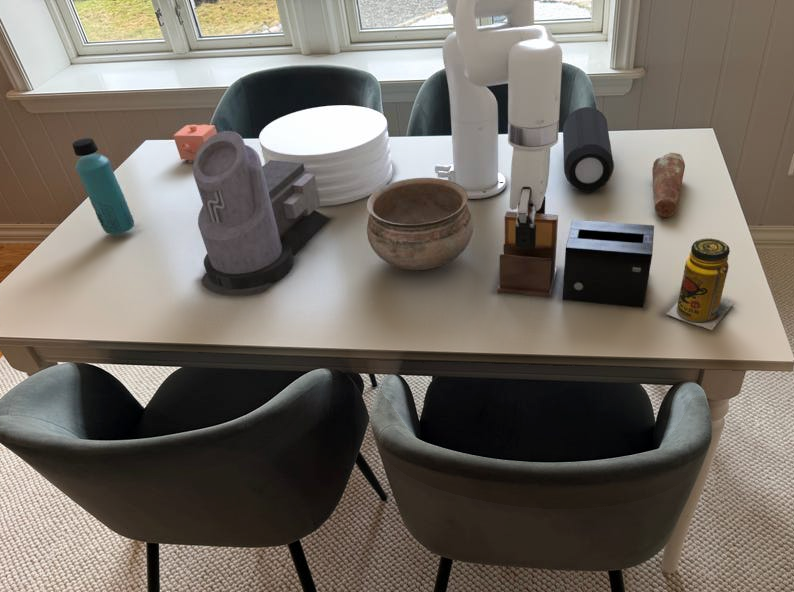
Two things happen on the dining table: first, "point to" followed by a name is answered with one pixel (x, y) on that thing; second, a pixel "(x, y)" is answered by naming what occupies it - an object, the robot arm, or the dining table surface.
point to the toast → (544, 230)
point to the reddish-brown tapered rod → (667, 183)
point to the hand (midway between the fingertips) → (530, 231)
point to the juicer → (251, 215)
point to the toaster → (608, 263)
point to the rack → (527, 271)
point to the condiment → (703, 285)
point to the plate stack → (334, 149)
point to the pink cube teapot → (192, 139)
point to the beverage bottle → (102, 188)
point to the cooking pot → (419, 222)
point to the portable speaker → (587, 150)
